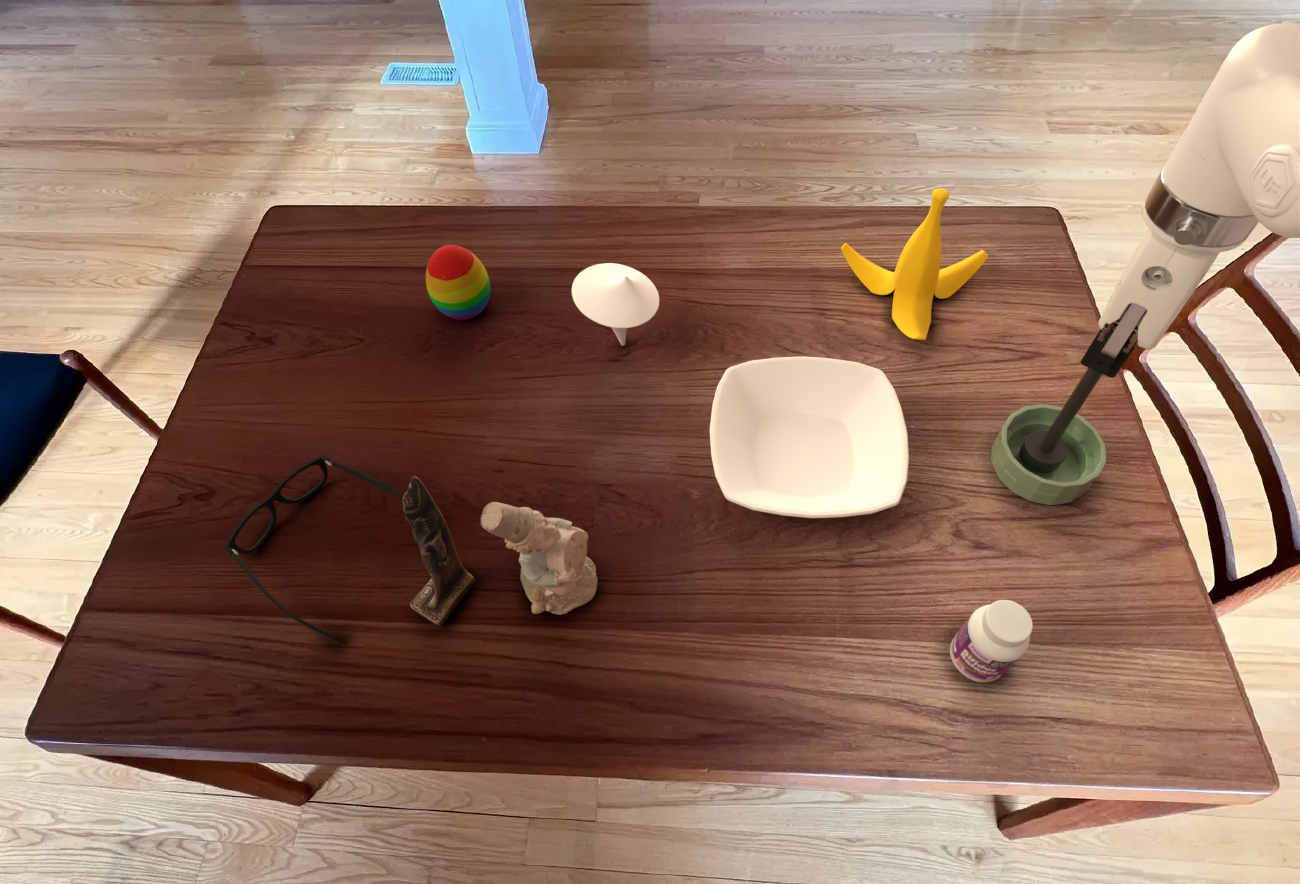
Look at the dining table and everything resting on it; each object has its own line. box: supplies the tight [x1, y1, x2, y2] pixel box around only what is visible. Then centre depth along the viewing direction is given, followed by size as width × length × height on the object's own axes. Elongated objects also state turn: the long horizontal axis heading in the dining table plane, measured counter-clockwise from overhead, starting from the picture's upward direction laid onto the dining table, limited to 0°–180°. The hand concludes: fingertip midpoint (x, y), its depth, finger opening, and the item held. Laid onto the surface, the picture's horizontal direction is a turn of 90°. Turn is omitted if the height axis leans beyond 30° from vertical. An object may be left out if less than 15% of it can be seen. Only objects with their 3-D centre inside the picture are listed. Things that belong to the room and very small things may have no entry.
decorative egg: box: [425, 244, 492, 321], centre depth 104 cm, size 8×8×10 cm
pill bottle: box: [949, 599, 1034, 683], centre depth 74 cm, size 5×5×10 cm
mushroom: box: [571, 262, 660, 347], centre depth 98 cm, size 10×11×12 cm
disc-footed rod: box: [1019, 327, 1116, 473], centre depth 79 cm, size 4×4×22 cm
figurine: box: [480, 501, 599, 616], centre depth 76 cm, size 9×8×20 cm
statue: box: [401, 475, 476, 627], centre depth 76 cm, size 4×7×20 cm, turn 149°
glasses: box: [223, 453, 404, 645], centre depth 86 cm, size 17×18×5 cm
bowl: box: [709, 356, 910, 519], centre depth 89 cm, size 22×22×5 cm
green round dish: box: [990, 403, 1107, 506], centre depth 87 cm, size 11×11×4 cm
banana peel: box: [840, 187, 989, 341], centre depth 97 cm, size 17×19×17 cm
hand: (1102, 361), depth 74 cm, fingers closed on disc-footed rod, 1 cm apart
